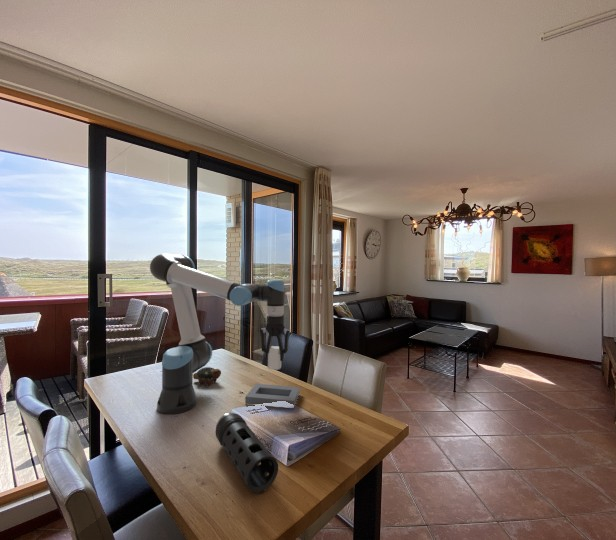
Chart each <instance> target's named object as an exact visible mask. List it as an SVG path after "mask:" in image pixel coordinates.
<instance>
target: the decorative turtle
mask: <svg viewBox="0 0 616 540" xmlns="http://www.w3.org/2000/svg"><path fill="white" fill-rule="evenodd" d="M221 375H222V371H221V369H220V368H213V367H210V366H209V367H207V366H206V367H205V366H204V367H202V368H200V369H198V370H197V371H196V372H194V373H193V379H194V380H197V381H198V384H199V385H201V386H203V385H204V384H206V385H207V386H208V387H211V385H212V384H213V383H216V382H217V379H219V378H220V377H221Z"/></svg>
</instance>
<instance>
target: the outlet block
mask: <svg viewBox="0 0 616 540" xmlns="http://www.w3.org/2000/svg"><path fill="white" fill-rule="evenodd" d="M300 389H301V388H300V386H290V385H289V386H288V385H287V386H286V385H276V384H275V385H274V384H266V383H265V384H263V383H255V384H254V386H253V387H252V388H250V391H248V393H247V394H246V396H245V403H244V404H245V406H253V405H252V404H263V403H272V402H277V401H286V402H288V403H290V404H293V405H295V404H296V405H297V402H298V400H297V399H299V397H300V395H299V394H300V392H301V391H300ZM298 396H299V397H298ZM296 401H297V402H296ZM246 404H247V405H246ZM296 405H295V406H296Z"/></svg>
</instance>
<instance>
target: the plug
mask: <svg viewBox="0 0 616 540" xmlns="http://www.w3.org/2000/svg"><path fill="white" fill-rule="evenodd" d="M279 353H280V350H279V346H277V345H276V346H274V345H271V347H270V349H269V368H268V369H269V370H275V371H276V370H277V371H279V369H278V354H279Z"/></svg>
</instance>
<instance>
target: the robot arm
mask: <svg viewBox="0 0 616 540" xmlns="http://www.w3.org/2000/svg"><path fill="white" fill-rule="evenodd" d="M149 269H150V270H149V271H150V273H151V275H152V276H153V277H154V278H155V279H157V280H158V281H163V282H165V283H166V284H165V285H166V287H168V288H169V289H170V290H171V295H172V301H173V305H174V309H175V310H174V311H175V315H176V319H177V324H178V330H179V334H180V341H179V342H178V346H176V347H171V348H169V349H167V350H166V351H165V352H164V353H163V355H162V361H161V369H162V370H161V371H162V372H161V376H162V378H161V381H162V382H161V391H160V395H159V397H158V400H157V404H156V405H157V406H156V410H157V412H158V413H161V414H165V415H175V414H176V415H177V414H180V413H185V412H187V411H190V410H192V409H193V408H195V406H197V398H198V397H197V395H196V392H195V388H194V384H193V379H194V378H193V375H194V374H195V373H197V372H198V371H199V370H200V369H202V368H205V366H206V365H207V364H208V363H209V362H210V360H211V359H212V356H213V347H212V346H211V344H210V343H208V341H206V337H205V336H204V335H203V334H201V333H202V332H201V329H200V325H199V319H198V315H197V309H196V304H195V300H194V295H193V290H192V289H194V290H197V291H201V292H203V293H207V294H210V295H212V296H215V297H218V298H222V299H224V300H228V301H230V302H231V303H232V304H233V305H235V306H238V307H240V306H241V307H242V306H246V305H248V304H251V303H253V302H266V326H265V327H262V328H260V330H259V333H260V335H261V339H260V340H261V345H260V346H261V351H262V352H263V353H265V361H267V369H269V349H270V348H271V347H272V342H273V337H276V339H277V343H278V347H279V350H280V353H279V354H278V370H281V368H282V362H283V361H284V359H285V358H284V356H285V354H287V352H288V351H289V335H290V333H291V329H287V328H286V326H285V322H284V321H285V316H284V314H285V282H284V281H283V280H281V279H269V280H267V281H266V283H265V284H261V283H242V284H240V283H238V282H237V283H236V282H234V281H232V280H229V279H225V278H222V277H219V276H216V275H213V274H210V273H206V272H203V271H201V270H197V269H196V265H195V263H194V261H193V260H192V258H191V257H189V256H187V255H185V254H178V253H177V254H176V253H173V254H172V253H162V254H157V255H156V256H155V257H153V258H152V260H151V262H150V264H149ZM283 332H284V345H283V339H282V338H283V337H282V334H283ZM266 333H268V338H267V341H266Z"/></svg>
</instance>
